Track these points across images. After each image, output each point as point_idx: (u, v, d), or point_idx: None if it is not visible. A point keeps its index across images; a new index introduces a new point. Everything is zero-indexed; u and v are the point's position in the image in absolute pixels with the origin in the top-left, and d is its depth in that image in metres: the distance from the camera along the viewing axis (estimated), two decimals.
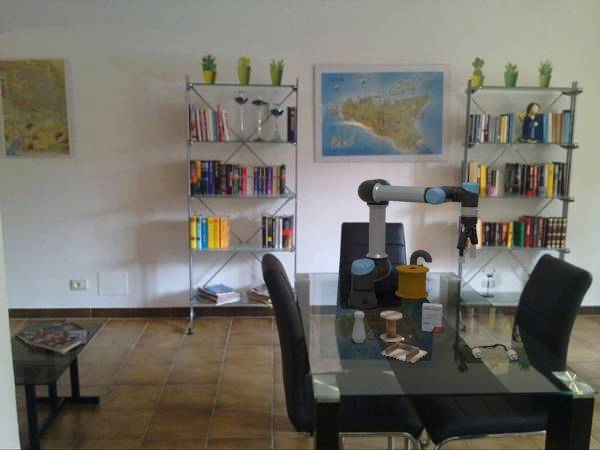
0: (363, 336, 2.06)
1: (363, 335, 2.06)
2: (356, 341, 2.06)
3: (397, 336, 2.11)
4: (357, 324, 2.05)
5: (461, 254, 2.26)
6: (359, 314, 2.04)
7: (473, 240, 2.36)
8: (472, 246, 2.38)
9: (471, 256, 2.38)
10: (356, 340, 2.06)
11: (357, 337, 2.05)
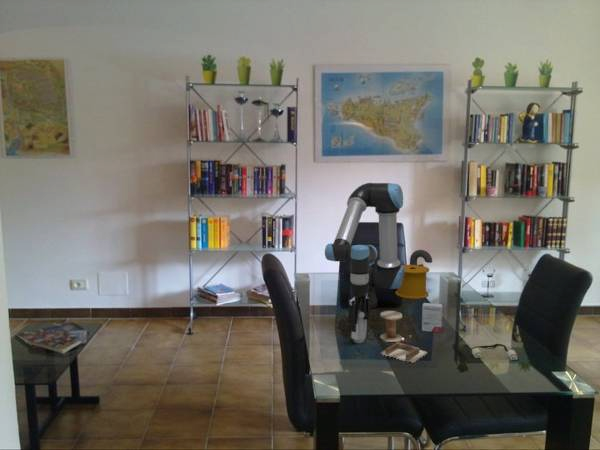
0: (363, 336, 2.06)
1: (363, 335, 2.06)
2: (356, 341, 2.06)
3: (397, 336, 2.11)
4: None
5: (353, 330, 2.03)
6: (359, 314, 2.04)
7: None
8: None
9: None
10: (356, 340, 2.06)
11: None
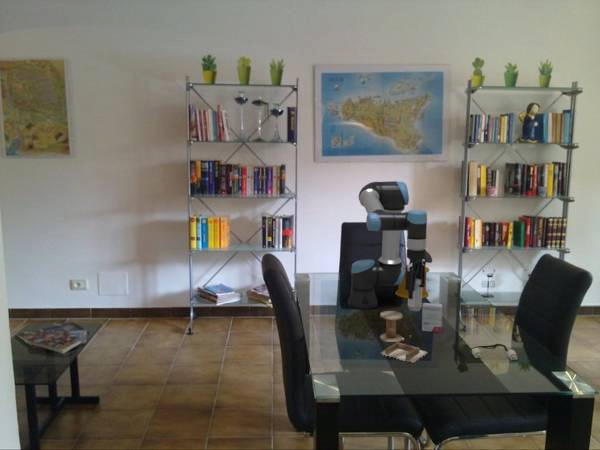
0: (420, 303, 2.00)
1: (420, 302, 2.01)
2: (412, 309, 2.01)
3: (397, 336, 2.11)
4: None
5: (410, 297, 1.98)
6: (416, 281, 1.99)
7: None
8: None
9: None
10: (413, 308, 2.01)
11: None
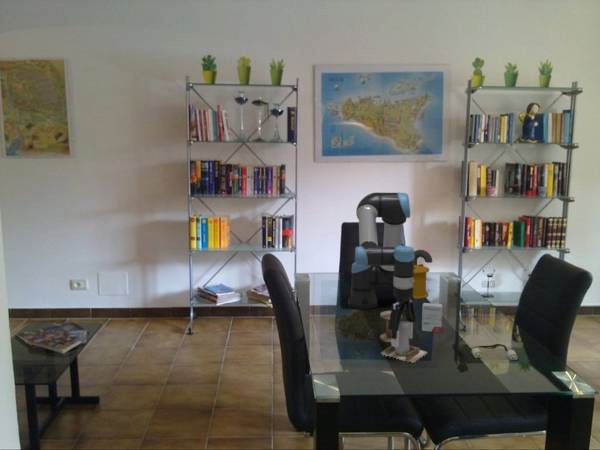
0: (407, 348, 1.91)
1: (407, 347, 1.91)
2: (399, 353, 1.91)
3: None
4: (401, 335, 1.90)
5: (393, 337, 1.86)
6: (404, 325, 1.89)
7: (409, 316, 1.95)
8: None
9: None
10: (399, 352, 1.91)
11: (401, 349, 1.90)
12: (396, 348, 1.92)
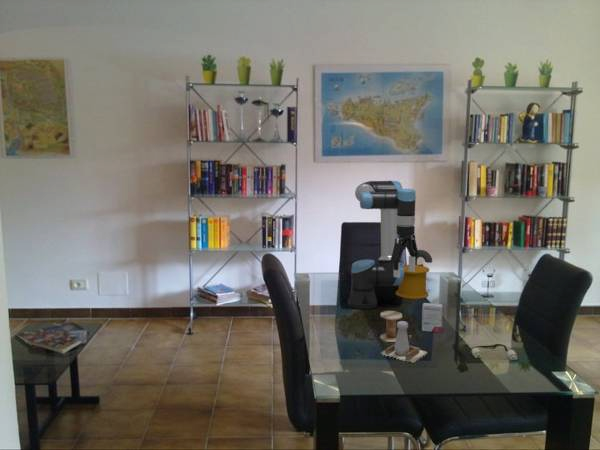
0: (407, 348, 1.91)
1: (407, 347, 1.91)
2: (399, 353, 1.91)
3: None
4: (400, 335, 1.91)
5: (395, 268, 2.06)
6: (403, 324, 1.90)
7: (412, 252, 2.16)
8: (411, 258, 2.18)
9: (410, 269, 2.18)
10: (399, 352, 1.91)
11: (400, 349, 1.90)
12: (396, 348, 1.92)
